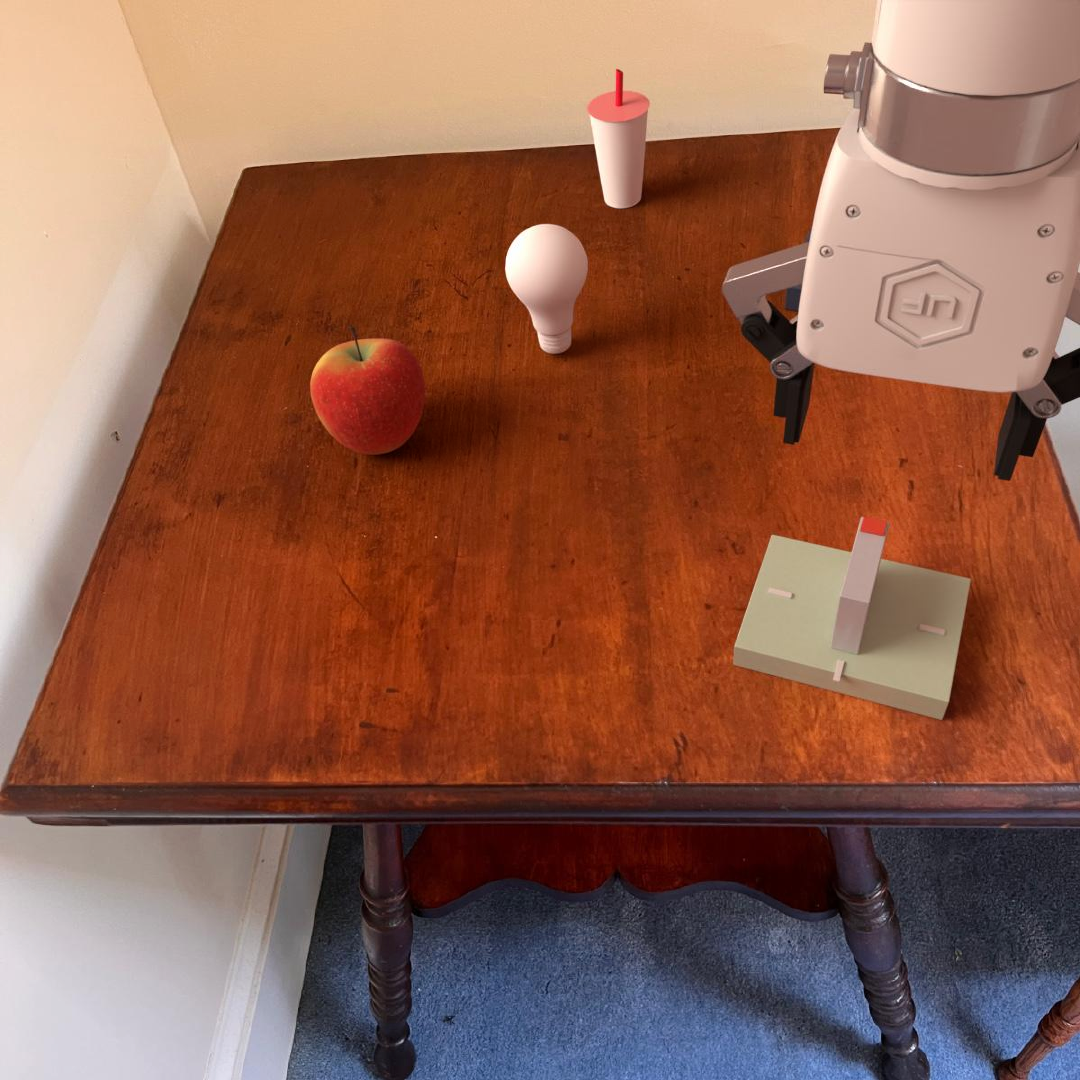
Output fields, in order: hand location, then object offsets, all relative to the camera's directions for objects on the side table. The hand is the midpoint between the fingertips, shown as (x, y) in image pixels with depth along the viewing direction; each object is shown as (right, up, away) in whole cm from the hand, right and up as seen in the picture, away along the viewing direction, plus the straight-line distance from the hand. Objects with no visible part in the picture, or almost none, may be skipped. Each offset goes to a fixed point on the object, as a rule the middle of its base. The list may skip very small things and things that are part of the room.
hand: (896, 441), depth 50 cm
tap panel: (+2, -10, +13) cm, 17 cm away
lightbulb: (-16, +10, +33) cm, 38 cm away
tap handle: (+1, -9, +11) cm, 15 cm away
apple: (-29, +3, +28) cm, 41 cm away
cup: (-9, +27, +46) cm, 54 cm away
